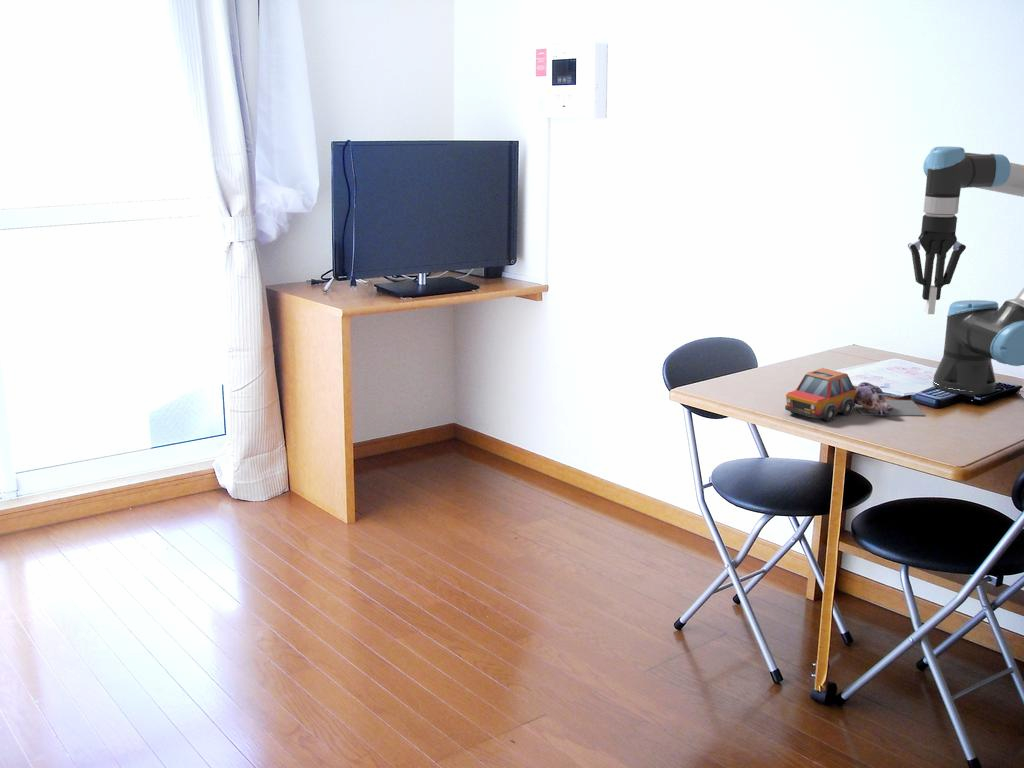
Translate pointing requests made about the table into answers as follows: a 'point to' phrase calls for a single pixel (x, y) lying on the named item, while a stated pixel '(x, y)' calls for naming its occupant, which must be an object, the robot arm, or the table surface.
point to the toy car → (822, 395)
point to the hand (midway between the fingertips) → (929, 312)
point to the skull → (871, 398)
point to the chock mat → (896, 409)
